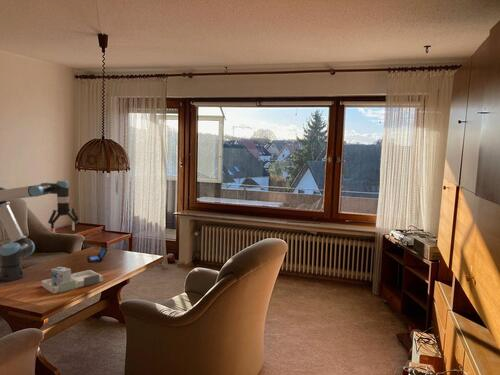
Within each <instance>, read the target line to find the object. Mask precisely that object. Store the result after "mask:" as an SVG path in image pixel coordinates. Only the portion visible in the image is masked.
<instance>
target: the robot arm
mask: <svg viewBox="0 0 500 375" xmlns="http://www.w3.org/2000/svg"><path fill="white" fill-rule="evenodd" d="M69 191H70V185H69V181H68V180H57V181H56V182H55V183H53V182H51V183H50V182H42V183H40V184H35V185H34V184H33V185H27V186H20V187H15V188H14V187H12V188H6V187H2V186H1V187H0V220H1V223H2V226H3V227H4V229H5V231H6V233H7V234H6V235H8V237H9V240H10V241H9V243H5V244H3V245H2V246H0V280H2V281H1V282H10V281H11V282H12V281H16V280H21V279H22V278H24V277H25V272H24V270H23V267H22V265H21V263H22V262H21V260H22V259H24V258H27V257H30V255H32V254H33V253H34V251H35V248H36V246H35V245H36V244H35V243H34V241H33V240H31V239H29V238H28V236H26V235H24V233H23V231H22V229H21V227H20V225H19V223H18V220H17V218H16V216H15V215H14V212H13V210H12V208H11V206H10V204H11V201H12V200H20V199H25V198H34V197H35V198H36V197H42V196H45V195H52V194H53V195H54V194H55V195H56V196H57V197H56V199H57V200H56V201H57V203H56V204H57V205H56V206H57V209H52V213H51V215H50V218H49V219H48V221H47V223H48V224H50V228H51V229H52V233H53V234H56V222H57V220H58V219H59V218H60V217H61V216H68V217H69V219H71V220H72V221H71V231H73V232H74V231H75V230H76V229H75V227H76V225H77V224H76V222H77V221H79V218H78V216H77V215H76V214H77V213H76V212H75V209H74V208H72V207H71V208H70V203H69V201H70V196H69V195H70V192H69Z"/></svg>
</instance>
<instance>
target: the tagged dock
mask: <svg viewBox="0 0 500 375" xmlns="http://www.w3.org/2000/svg"><path fill="white" fill-rule="evenodd" d="M101 282H104V275H102V274H100V273H98V272H95V271H94V270H92V269H88V270H87V269H86V270H83V271H78V272H74V273H71V281H68V282H64V283H60V284H59V286H55V285H52V282H51V278H48V279H44V280H41V287H43V288H44V289H46V290H47V291H49V292H50V293H52V294H58V293H64V292H66V291H67V292H68V291H72V290H75V289H77V288H81V287H87V286H91V285H95V284H98V283H101Z"/></svg>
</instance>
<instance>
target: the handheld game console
mask: <svg viewBox="0 0 500 375" xmlns="http://www.w3.org/2000/svg"><path fill="white" fill-rule="evenodd" d="M107 252H108V249H107V248H106V246H105V245H103V246H102V247H101V249H100V252H99V253H98V254H97V255H96V254H95V255H88V256H87V260H88V261H89V262H90V263H98V262H99V261H100V262H103V259H104V257H105V256H106V255H107Z"/></svg>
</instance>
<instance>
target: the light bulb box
mask: <svg viewBox="0 0 500 375" xmlns="http://www.w3.org/2000/svg"><path fill="white" fill-rule="evenodd" d="M50 272H51V275H50V276H51V278H50V279H51V282H52V285H55V286H59V284H60V283H64V282H68V281H71V274H72V270H71V268H68V267H63V266H57V267H54V268H51V269H50Z"/></svg>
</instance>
